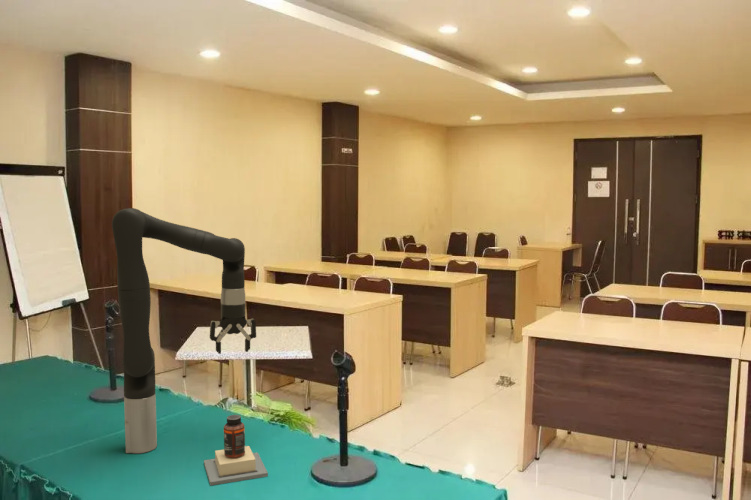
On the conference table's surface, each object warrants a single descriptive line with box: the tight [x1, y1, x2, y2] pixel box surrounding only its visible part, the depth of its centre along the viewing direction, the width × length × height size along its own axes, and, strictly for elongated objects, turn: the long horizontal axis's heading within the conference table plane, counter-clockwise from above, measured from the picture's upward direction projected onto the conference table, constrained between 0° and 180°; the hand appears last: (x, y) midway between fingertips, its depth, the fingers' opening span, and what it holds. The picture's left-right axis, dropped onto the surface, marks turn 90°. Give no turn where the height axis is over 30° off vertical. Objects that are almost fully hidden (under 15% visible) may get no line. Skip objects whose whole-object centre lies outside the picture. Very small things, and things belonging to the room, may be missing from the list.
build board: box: [203, 445, 269, 486], centre depth 184 cm, size 16×15×4 cm
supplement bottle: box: [223, 414, 246, 458], centre depth 184 cm, size 6×6×11 cm
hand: (233, 352), depth 201 cm, fingers open, 8 cm apart
